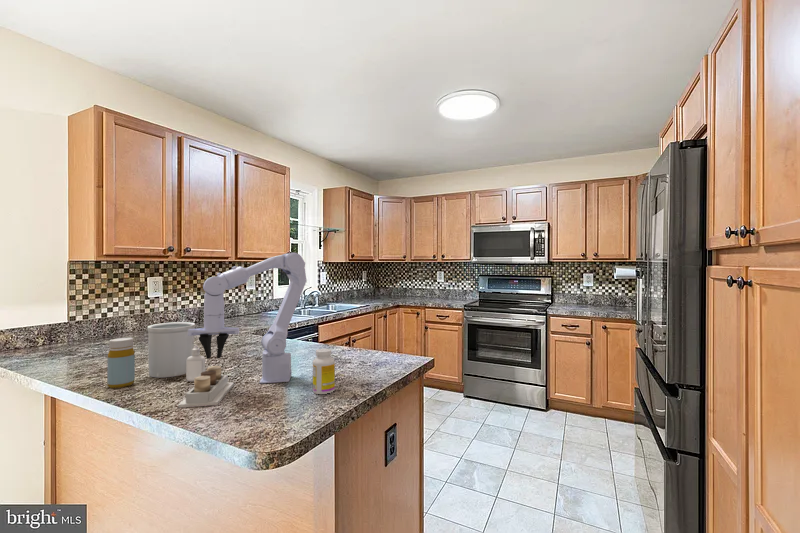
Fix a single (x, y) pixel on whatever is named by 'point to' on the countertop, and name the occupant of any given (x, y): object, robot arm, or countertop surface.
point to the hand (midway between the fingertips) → (214, 357)
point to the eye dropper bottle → (194, 364)
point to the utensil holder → (169, 348)
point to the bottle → (121, 363)
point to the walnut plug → (212, 376)
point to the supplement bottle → (323, 372)
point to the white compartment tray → (208, 394)
